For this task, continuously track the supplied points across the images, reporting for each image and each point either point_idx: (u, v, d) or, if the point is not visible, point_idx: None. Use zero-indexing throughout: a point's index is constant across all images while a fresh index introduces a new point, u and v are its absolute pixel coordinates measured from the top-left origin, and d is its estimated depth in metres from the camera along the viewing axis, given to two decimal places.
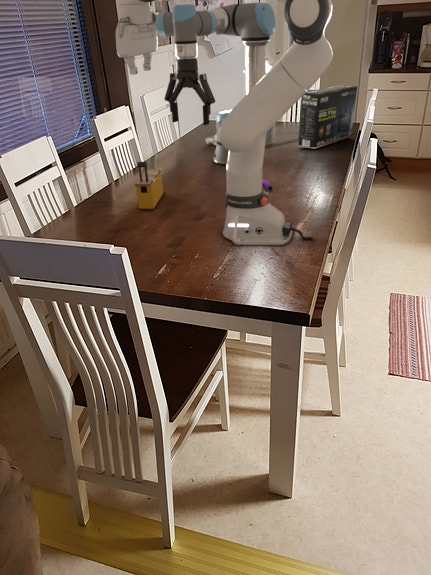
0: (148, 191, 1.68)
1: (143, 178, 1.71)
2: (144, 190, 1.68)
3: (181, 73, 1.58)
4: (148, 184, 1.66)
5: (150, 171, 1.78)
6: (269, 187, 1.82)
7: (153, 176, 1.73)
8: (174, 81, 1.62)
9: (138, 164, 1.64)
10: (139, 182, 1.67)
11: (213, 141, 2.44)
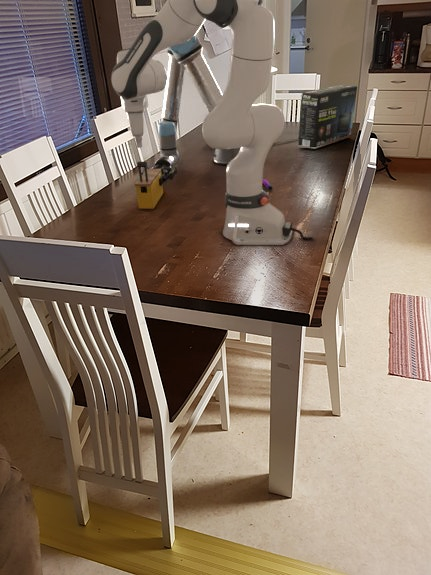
0: (148, 191, 1.68)
1: (143, 178, 1.71)
2: (144, 190, 1.68)
3: None
4: (148, 184, 1.66)
5: (150, 171, 1.78)
6: (269, 187, 1.82)
7: (153, 176, 1.73)
8: None
9: (138, 164, 1.64)
10: (139, 182, 1.67)
11: None
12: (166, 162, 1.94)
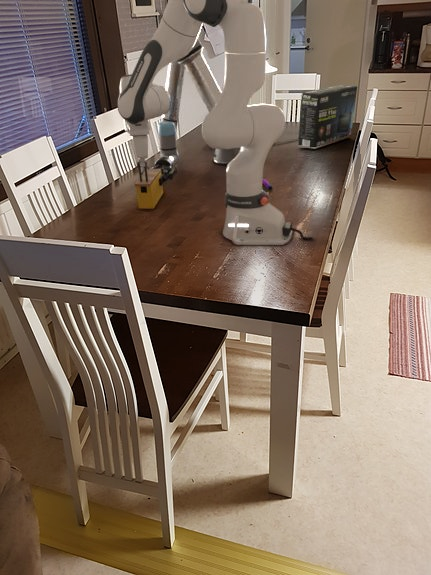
0: (148, 191, 1.68)
1: (143, 178, 1.71)
2: (144, 190, 1.68)
3: None
4: (148, 184, 1.66)
5: (150, 171, 1.78)
6: (269, 187, 1.82)
7: (153, 176, 1.73)
8: None
9: (138, 164, 1.64)
10: (139, 182, 1.67)
11: None
12: (166, 162, 1.94)
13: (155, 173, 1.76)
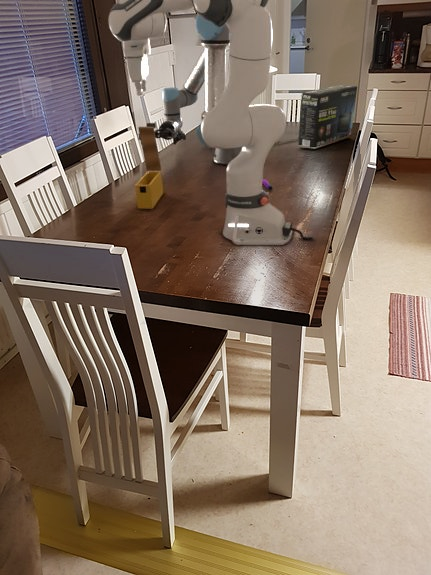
0: (147, 191, 1.68)
1: None
2: (143, 190, 1.68)
3: None
4: (151, 127, 1.68)
5: None
6: (269, 187, 1.82)
7: None
8: None
9: (148, 123, 1.74)
10: None
11: None
12: (170, 126, 1.99)
13: None
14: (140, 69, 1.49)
